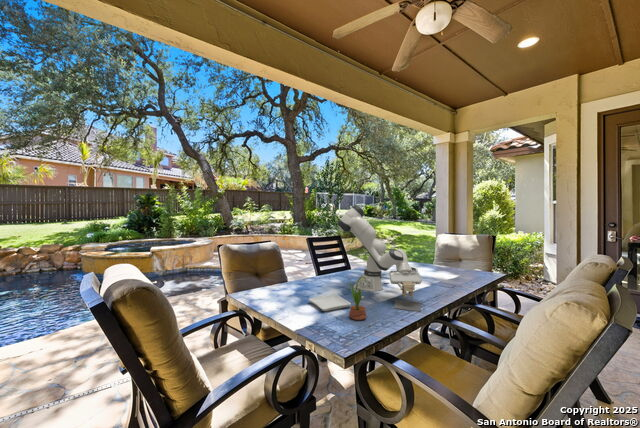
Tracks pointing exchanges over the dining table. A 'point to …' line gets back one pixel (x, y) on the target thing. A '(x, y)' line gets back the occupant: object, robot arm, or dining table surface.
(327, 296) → the salad plate
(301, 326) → the dining table surface
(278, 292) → the dining table surface
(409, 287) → the birch stool
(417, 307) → the grey-brown square panel
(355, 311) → the potted flower
